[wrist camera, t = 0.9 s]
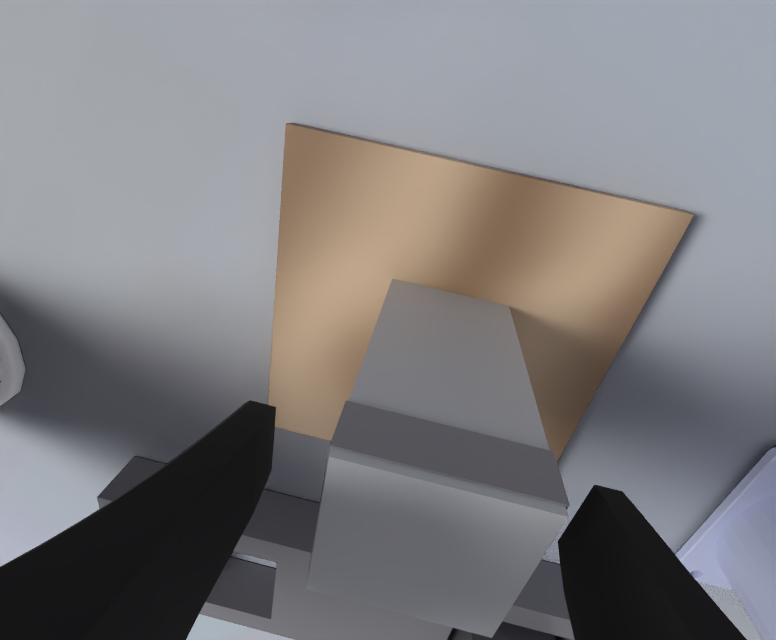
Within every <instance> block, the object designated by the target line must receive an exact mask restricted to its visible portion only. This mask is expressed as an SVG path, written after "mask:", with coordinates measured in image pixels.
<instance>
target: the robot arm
mask: <svg viewBox="0 0 776 640" xmlns="http://www.w3.org/2000/svg"><path fill="white" fill-rule="evenodd" d="M275 416H276V407H274V406H270V405H266V404H262V403H258V402H254V401H248V402H247V403H245V404H244V405H242V406H241V407H240V408H239V409H237V410H236V411H235V412H234V413H232V414H231V415H230V416H229V417H228V418H226V419H225V420H224V421H223V422H221V423H220V424H219V425H217V426H216V427H215V428H214V429H212V430H211V431H210V432H209V433H207V434H206V435H205V436H203V437H202V438H201V439H200V440H198V441H197V442H196V443H194V444H193V445H192V446H190V447H189V448H188V449H186V450H185V451H183V452H182V453H181V454H179V455H178V456H177V457H175V458H174V459H173V460H171V461H170V462H169V463H167V464H166V465H164V466H163V467H162V468H160V469H159V470H157V471H156V472H155V473H153V474H152V475H150V476H149V477H147V478H146V479H144V480H143V481H141V482H140V483H138V484H137V485H135V486H134V487H132V488H131V489H129V490H128V491H127V492H125V493H124V494H122V495H121V496H119V497H118V498H116V499H115V500H113V501H112V502H110V503H109V504H107V505H105V506H104V507H102V508H101V509H99V510H97V511H96V512H94V513H93V514H91V515H90V516H88V517H86V518H85V519H83V520H81V521H80V522H78V523H76V524H75V525H73V526H71V527H70V528H68V529H66V530H65V531H63V532H61V533H60V534H58V535H56V536H55V537H53V538H51V539H49V540H48V541H46V542H44V543H43V544H41V545H39V546H37V547H35V548H34V549H32V550H30V551H28V552H26V553H25V554H23V555H21V556H19V557H17V558H15V559H14V560H12V561H10V562H8V563H6V564H5V565H3V566H1V567H0V640H186V638H187V636H188V634H189V632H190V630H191V628H192V626H193V624H194V622H195V620H196V618H197V617H198V615H199V613H200V611H201V609H202V607H203V606H204V604H205V602H206V600H207V598H208V596H209V595H210V593H211V591H212V589H213V587H214V585H215V584H216V582H217V580H218V578H219V576H220V574H221V573H222V571H223V569H224V567H225V565H226V563H227V562H228V560H229V558H230V556H231V554H232V552H233V550H234V549H235V547H236V545H237V543H238V541H239V539H240V538H241V536H242V534H243V532H244V530H245V528H246V526H247V525H248V523H249V521H250V519H251V517H252V515H253V513H254V511H255V508H256V506H257V504H258V501H259V499H260V497H261V494H262V492H263V489H264V487H265V484H266V482H267V479H268V477H269V474H270V472H271V468H272V455H273V442H274V429H275ZM558 546H559V556H560V566H561V575H562V582H563V590H564V595H565V600H566V604H567V609H568V613H569V617H570V622H571V626H572V630H573V635H574V639H575V640H747V639H746V638H745V637H744V636H743V635H742V634H741V633H740V631H739V630H738V629H737V628H736V627H735V626H734V624H733V623H732V622H731V621H730V620H729V619H728V618H727V616H726V615H725V614H724V613H723V612H722V611H721V609H720V608H719V607H718V606H717V605H716V603H715V602H714V601H713V600H712V599H711V598H710V596H709V595H708V594H707V593H706V592H705V590H704V589H703V588H702V587H701V586H700V584H699V583H698V582H701V583H705V584H709V585H712V586H716V587H720V588H724V589H728V590H732V591H734V592H735V594H736V596H737V597H738V599H739V601H740V603H741V604H742V606H743V608H744V609H745V611H746V613H747V615H748V616H749V618H750V620H751V622H752V623H753V625H754V627H755V628H756V630H757V632H758V634H759V635H760V637H761V639H762V640H776V447H774V448H771V449H770V450H769V451H768V452H767V453H766V454H765V455H764V456H763V457H762V458H761V459H760V460H759V462H758V463H757V464H756V465H755V466H754V467H753V468H752V469H751V471H750V472H749V473H748V474H747V475H746V476H745V477H744V478H743V480H742V481H741V482H740V483H739V484H738V485H737V486H736V487H735V488H734V490H733V491H732V492H731V493H730V494H729V495H728V496H727V497H726V499H725V500H724V501H723V502H722V503H721V504H720V505H719V506H718V508H717V509H716V510H715V511H714V512H713V513H712V514H711V515H710V517H709V518H708V519H707V520H706V521H705V522H704V523H703V524H702V525H701V527H700V528H699V529H698V530H697V531H696V532H695V533H694V534H693V536H692V537H691V538H690V539H689V540H688V541H687V542H686V543H685V545H684V546H683V547H682V548H681V549H680V550H679V551H678V552H677V554H676V555H675V554H674V553H673V552H672V550H671V549H670V548H669V547H668V546H667V544H666V543H665V542H664V541H663V539H662V538H661V537H660V536H659V535H658V533H657V532H656V531H655V530H654V528H653V527H652V526H651V525H650V524H649V522H648V521H647V520H646V519H645V518H644V516H643V515H642V514H641V513H640V512H639V510H638V509H637V508H636V507H635V506H634V504H633V503H632V502H631V501H630V500H629V499H628V498H627V496H626V495H625V494H624V493H623V492H622V491H618V490H614V489H610V488H606V487H602V486H598V485H594V486H593V488H592V489H591V491H590V492H589V494H588V495H587V497H586V499H585V500H584V502H583V503H582V505H581V506H580V508H579V509H578V511H577V513H576V514H575V516H574V517H573V519H572V520H571V522H570V523H569V525H568V527H567V528H566V530H565V531H564V533H563V534H562V536H561V537H560V539H559V541H558Z"/></svg>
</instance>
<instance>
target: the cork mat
mask: <svg viewBox="0 0 776 640" xmlns="http://www.w3.org/2000/svg"><path fill="white" fill-rule="evenodd" d="M693 216H694V215H693V214H691V213H689V212H686V211H684V210H680V209H676V208H671V207H667V206H662V205H658V204H654V203H649V202H645V201H640V200H636V199H631V198H627V197H622V196H618V195H613V194H609V193H604V192H600V191H595V190H591V189H587V188H582V187H578V186H573V185H569V184H564V183H560V182H555V181H551V180H546V179H542V178H537V177H533V176H528V175H524V174H519V173H515V172H511V171H506V170H502V169H497V168H493V167H488V166H484V165H479V164H475V163H470V162H466V161H461V160H457V159H452V158H448V157H443V156H439V155H435V154H430V153H426V152H421V151H417V150H412V149H408V148H403V147H399V146H394V145H390V144H385V143H381V142H376V141H372V140H367V139H363V138H359V137H354V136H350V135H345V134H341V133H336V132H332V131H327V130H323V129H318V128H314V127H309V126H305V125H300V124H296V123H286V130H285V146H284V161H283V177H282V193H281V208H280V224H279V239H278V255H277V271H276V286H275V302H274V317H273V333H272V349H271V364H270V380H269V395H268V405H270V406H274V407H276V416H275V427H277V428H281V429H285V430H289V431H293V432H297V433H301V434H305V435H309V436H313V437H317V438H321V439H325V440H329V441H331V440H332V437H333V434H334V432H335V429H336V426H337V423H338V421H339V418H340V415H341V413H342V410H343V407H344V404H345V402H346V400H347V401H349V399H350V396H351V393H352V390H353V388H354V385H355V382H356V379H357V376H358V373H359V371H360V368H361V365H362V362H363V359H364V357H365V354H366V351H367V348H368V345H369V342H370V340H371V337H372V334H373V331H374V328H375V326H376V323H377V320H378V317H379V314H380V311H381V309H382V306H383V303H384V300H385V297H386V295H387V292H388V289H389V286H390V283H391V280H392V278H393V279H397V280H401V281H405V282H410V283H414V284H418V285H422V286H427V287H431V288H435V289H439V290H444V291H448V292H452V293H456V294H461V295H465V296H469V297H473V298H478V299H482V300H486V301H490V302H495V303H499V304H503V305H507V306H509V308H510V311H511V315H512V318H513V322H514V326H515V329H516V333H517V336H518V340H519V343H520V347H521V350H522V354H523V358H524V361H525V365H526V368H527V372H528V375H529V379H530V383H531V386H532V390H533V393H534V397H535V400H536V404H537V407H538V411H539V415H540V418H541V422H542V425H543V429H544V432H545V436H546V439H547V443H548V447H549V450H550V451H554V454H555V457H556V461H558V459H559V457H560V456H561V454H562V452H563V450H564V448H565V446H566V445H567V443H568V441H569V439H570V437H571V436H572V434H573V432H574V430H575V428H576V427H577V425H578V423H579V421H580V419H581V418H582V416H583V414H584V412H585V410H586V409H587V407H588V405H589V403H590V401H591V400H592V398H593V396H594V394H595V392H596V391H597V389H598V387H599V385H600V383H601V382H602V380H603V378H604V376H605V374H606V373H607V371H608V369H609V367H610V365H611V364H612V362H613V360H614V358H615V356H616V355H617V353H618V351H619V349H620V347H621V346H622V344H623V342H624V340H625V338H626V337H627V335H628V333H629V331H630V329H631V328H632V326H633V324H634V322H635V320H636V319H637V317H638V315H639V313H640V311H641V310H642V308H643V306H644V304H645V302H646V301H647V299H648V297H649V295H650V293H651V291H652V290H653V288H654V286H655V284H656V282H657V281H658V279H659V277H660V275H661V273H662V272H663V270H664V268H665V266H666V264H667V263H668V261H669V259H670V257H671V255H672V254H673V252H674V250H675V248H676V246H677V245H678V243H679V241H680V239H681V237H682V236H683V234H684V232H685V230H686V228H687V227H688V225H689V223H690V221H691V219H692V218H693Z"/></svg>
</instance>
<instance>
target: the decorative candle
mask: <svg viewBox="0 0 776 640" xmlns="http://www.w3.org/2000/svg"><path fill="white" fill-rule="evenodd" d="M25 371H26V368H25V364H24V361H23V357H22V354H21V350H20V346H19V343H18V339H17V338H16V337H15V335H14V334H13V332H12V331H11V329H10V328H9V326H8V325H7V323H6V322H5V320H4V319H3V317H2V316H1V314H0V406H1V405H2V404H4V403H5V402H6V401H8V400H9V399H11V398H12V397H13V396H15V395H16V394H17V393H19V392H20V391H21V387H22V383H23V379H24V375H25Z"/></svg>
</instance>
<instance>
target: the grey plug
mask: <svg viewBox="0 0 776 640" xmlns="http://www.w3.org/2000/svg"><path fill="white" fill-rule="evenodd" d="M568 507H569V502H568V498H567V495H566V491H565V488H564V485H563V481H562V478H561V474H560V471H559V468H558V464H557V461H556V457H555V454H554V451H550V450H549V447H548V443H547V439H546V436H545V432H544V429H543V425H542V422H541V418H540V415H539V411H538V407H537V404H536V400H535V397H534V393H533V390H532V386H531V383H530V379H529V375H528V372H527V368H526V365H525V361H524V358H523V354H522V350H521V347H520V343H519V340H518V336H517V333H516V329H515V326H514V322H513V318H512V315H511V311H510V308H509V306H507V305H503V304H499V303H495V302H490V301H486V300H482V299H478V298H473V297H469V296H465V295H461V294H456V293H452V292H448V291H444V290H439V289H435V288H431V287H427V286H422V285H418V284H414V283H410V282H405V281H401V280H397V279H393V278H392V280H391V283H390V286H389V289H388V292H387V295H386V297H385V300H384V303H383V306H382V309H381V311H380V314H379V317H378V320H377V323H376V326H375V328H374V331H373V334H372V337H371V340H370V342H369V345H368V348H367V351H366V354H365V357H364V359H363V362H362V365H361V368H360V371H359V373H358V376H357V379H356V382H355V385H354V388H353V390H352V393H351V396H350V399H349V401H347V400H346V402H345V404H344V407H343V410H342V413H341V415H340V418H339V421H338V423H337V426H336V429H335V432H334V434H333V437H332V440H331V443H330V446H329V452H328V458H327V464H326V469H325V475H324V481H323V487H322V493H321V499H320V505H319V511H318V517H317V523H316V529H315V535H314V540H313V546H312V552H311V558H310V564H309V570H308V576H307V580H308V582H307V588H306V589H308V590H312V591H316V592H319V593H323V594H327V595H331V596H335V597H338V598H342V599H346V600H350V601H354V602H357V603H361V604H365V605H369V606H373V607H376V608H380V609H384V610H388V611H392V612H395V613H399V614H403V615H407V616H411V617H414V618H418V619H422V620H426V621H430V622H433V623H437V624H441V625H445V626H449V627H452V628H456V629H460V630H464V631H468V632H471V633H475V634H479V635H483V636H487V637H490V638H492V637H493V635H494V634H495V632H496V630H497V629H498V627H499V626H500V624H501V623H502V621H503V619H504V618H505V616H506V615H507V613H508V611H509V610H510V608H511V607H512V605H513V604H514V602H515V600H516V599H517V597H518V596H519V594H520V592H521V591H522V589H523V588H524V586H525V585H526V583H527V581H528V580H529V578H530V577H531V575H532V574H533V572H534V570H535V569H536V567H537V566H538V564H539V562H540V561H541V559H542V558H543V556H544V555H545V553H546V551H547V550H548V548H549V547H550V545H551V543H552V542H553V540H554V539H555V537H556V536H557V534H558V532H559V531H560V529H561V528H562V526H563V524H564V523H565V521H566V520H567V518H568V514H567V511H566V510H567V508H568Z"/></svg>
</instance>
